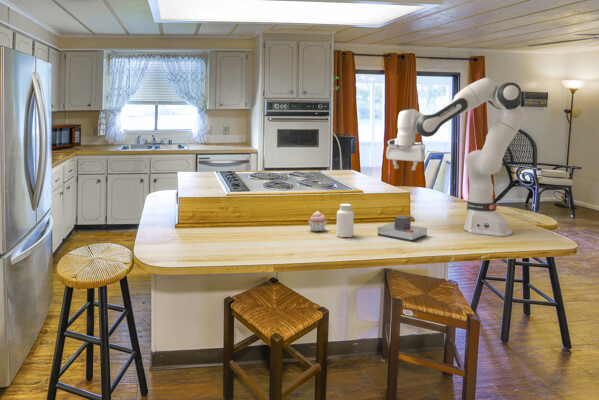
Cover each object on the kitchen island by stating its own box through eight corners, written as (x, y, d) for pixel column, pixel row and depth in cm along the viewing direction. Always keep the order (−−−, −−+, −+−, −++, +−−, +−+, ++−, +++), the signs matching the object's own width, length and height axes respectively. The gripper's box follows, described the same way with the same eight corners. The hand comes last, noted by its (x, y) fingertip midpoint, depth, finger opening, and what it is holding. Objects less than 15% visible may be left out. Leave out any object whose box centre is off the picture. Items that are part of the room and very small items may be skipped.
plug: (410, 232, 228) (410, 216, 227) (403, 234, 224) (404, 218, 223) (400, 230, 232) (401, 215, 230) (394, 233, 227) (394, 217, 226)
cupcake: (322, 228, 244) (323, 208, 242) (329, 232, 235) (330, 212, 234) (305, 229, 241) (305, 209, 239) (311, 233, 232) (311, 213, 231)
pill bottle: (355, 234, 231) (355, 203, 228) (351, 238, 223) (351, 206, 220) (338, 233, 233) (339, 202, 230) (334, 237, 226) (334, 205, 223)
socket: (426, 236, 227) (427, 226, 227) (411, 242, 217) (412, 232, 216) (393, 230, 239) (393, 221, 238) (377, 235, 229) (377, 225, 228)
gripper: (428, 142, 236) (426, 170, 238) (391, 140, 249) (390, 167, 252) (421, 142, 231) (420, 171, 234) (385, 141, 245) (384, 168, 247)
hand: (404, 169), depth 243 cm, fingers open, 8 cm apart
